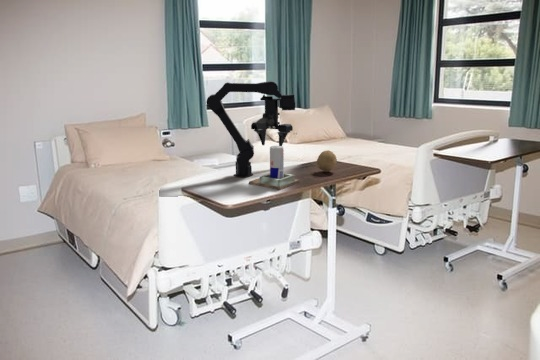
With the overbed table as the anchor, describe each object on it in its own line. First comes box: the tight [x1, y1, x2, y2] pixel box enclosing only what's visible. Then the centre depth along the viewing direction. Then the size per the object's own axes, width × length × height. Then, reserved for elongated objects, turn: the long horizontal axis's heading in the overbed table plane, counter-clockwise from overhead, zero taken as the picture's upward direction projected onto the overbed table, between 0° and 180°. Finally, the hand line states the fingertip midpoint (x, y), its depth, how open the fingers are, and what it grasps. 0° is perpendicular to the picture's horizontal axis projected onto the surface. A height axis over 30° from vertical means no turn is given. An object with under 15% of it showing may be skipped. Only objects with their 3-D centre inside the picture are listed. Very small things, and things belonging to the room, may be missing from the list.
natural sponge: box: [315, 149, 338, 173], centre depth 219 cm, size 9×9×10 cm
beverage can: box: [269, 145, 285, 179], centre depth 198 cm, size 6×6×15 cm
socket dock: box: [248, 172, 300, 190], centre depth 202 cm, size 16×14×4 cm
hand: (271, 146), depth 213 cm, fingers open, 9 cm apart
